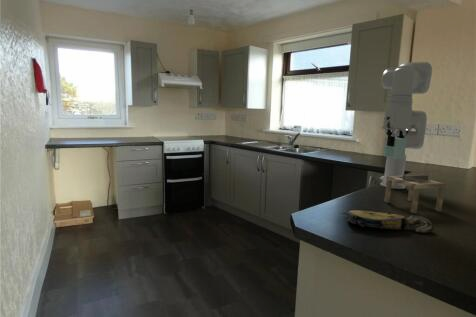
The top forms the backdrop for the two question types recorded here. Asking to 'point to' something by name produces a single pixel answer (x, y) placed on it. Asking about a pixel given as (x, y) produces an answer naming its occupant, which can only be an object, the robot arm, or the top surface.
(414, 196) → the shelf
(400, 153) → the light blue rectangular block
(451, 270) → the top surface
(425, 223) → the pulley block
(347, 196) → the top surface
